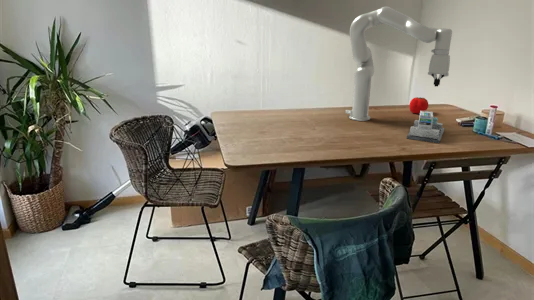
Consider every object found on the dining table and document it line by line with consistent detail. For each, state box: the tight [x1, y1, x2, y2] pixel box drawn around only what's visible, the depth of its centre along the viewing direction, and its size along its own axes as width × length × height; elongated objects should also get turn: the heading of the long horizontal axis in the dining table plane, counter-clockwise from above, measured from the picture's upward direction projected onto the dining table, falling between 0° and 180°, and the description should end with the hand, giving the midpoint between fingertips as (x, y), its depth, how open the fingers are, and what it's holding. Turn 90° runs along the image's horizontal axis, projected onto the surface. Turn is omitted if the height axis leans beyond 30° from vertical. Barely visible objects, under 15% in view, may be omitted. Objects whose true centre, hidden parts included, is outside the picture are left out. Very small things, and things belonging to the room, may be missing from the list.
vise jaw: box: [413, 116, 443, 132], centre depth 231 cm, size 14×6×6 cm, turn 63°
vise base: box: [406, 125, 445, 144], centre depth 228 cm, size 16×25×6 cm, turn 153°
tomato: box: [408, 96, 429, 115], centre depth 270 cm, size 11×13×10 cm
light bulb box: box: [418, 110, 434, 129], centre depth 224 cm, size 11×7×11 cm, turn 161°
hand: (436, 86), depth 236 cm, fingers closed
